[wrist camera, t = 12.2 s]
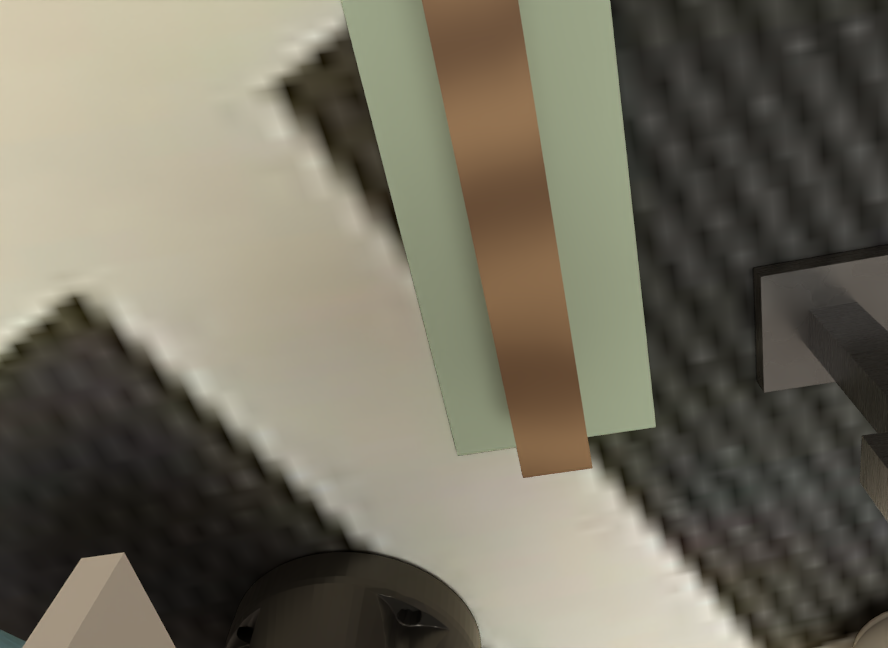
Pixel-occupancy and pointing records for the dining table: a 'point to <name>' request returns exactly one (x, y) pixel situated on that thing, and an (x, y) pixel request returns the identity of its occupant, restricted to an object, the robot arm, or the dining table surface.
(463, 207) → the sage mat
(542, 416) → the walnut bar
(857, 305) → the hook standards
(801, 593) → the dining table surface
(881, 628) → the lidded jar
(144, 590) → the robot arm
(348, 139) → the dining table surface
